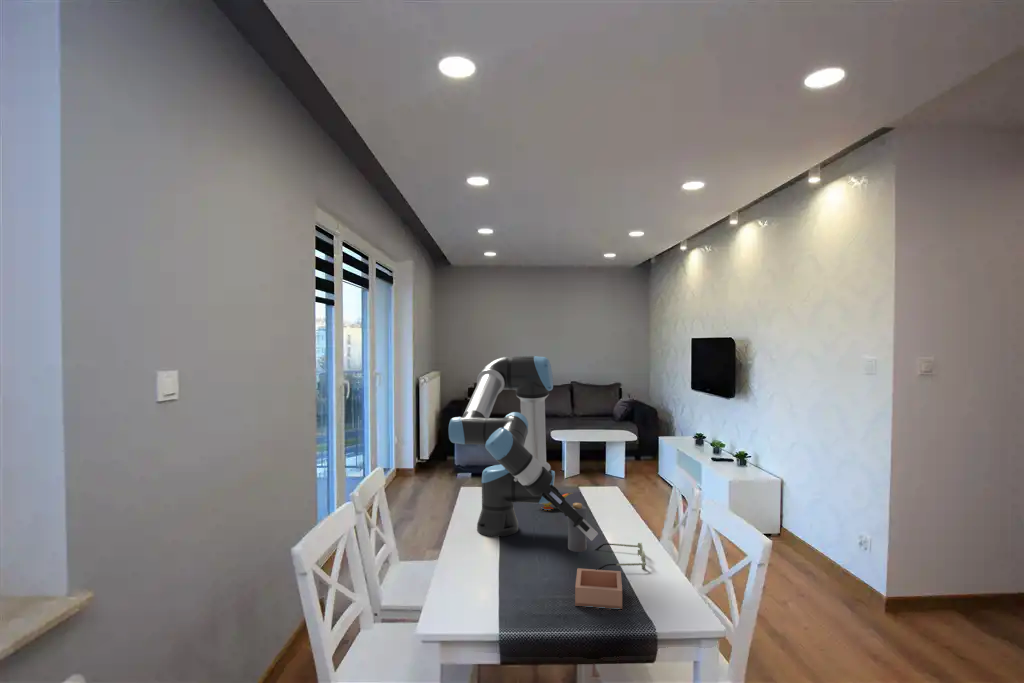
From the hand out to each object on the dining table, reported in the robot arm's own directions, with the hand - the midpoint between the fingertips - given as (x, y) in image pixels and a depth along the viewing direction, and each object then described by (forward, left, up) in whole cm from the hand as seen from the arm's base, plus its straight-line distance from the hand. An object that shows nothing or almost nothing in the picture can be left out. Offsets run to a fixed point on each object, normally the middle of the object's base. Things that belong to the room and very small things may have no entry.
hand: (590, 533), depth 148 cm
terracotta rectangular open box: (+2, -2, -17) cm, 17 cm away
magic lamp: (-18, +73, -17) cm, 77 cm away
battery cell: (-3, -2, -4) cm, 5 cm away
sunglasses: (+8, +24, -17) cm, 31 cm away
